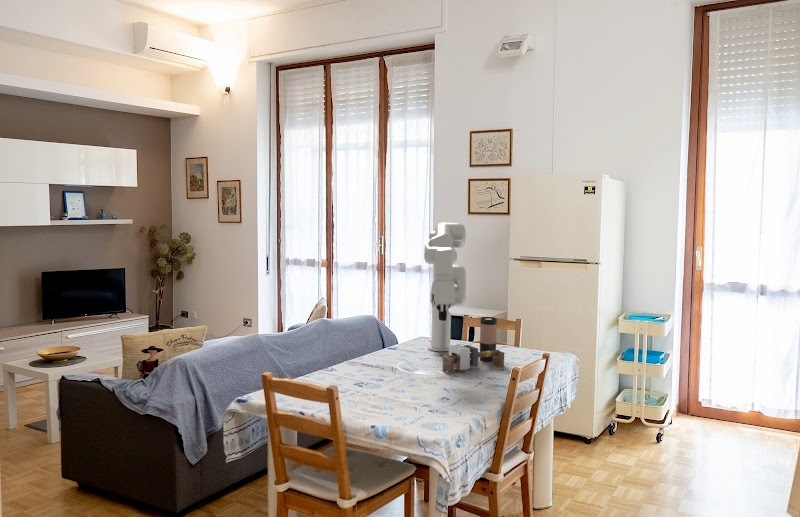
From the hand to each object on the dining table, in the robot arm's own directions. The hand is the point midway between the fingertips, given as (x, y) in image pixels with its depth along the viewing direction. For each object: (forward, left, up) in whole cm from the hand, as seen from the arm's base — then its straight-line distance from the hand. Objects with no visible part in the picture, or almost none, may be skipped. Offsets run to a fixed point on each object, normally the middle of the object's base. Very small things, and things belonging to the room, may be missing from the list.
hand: (442, 320), depth 289 cm
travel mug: (-10, +32, -23) cm, 41 cm away
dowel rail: (0, +17, -23) cm, 29 cm away
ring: (0, +15, -21) cm, 26 cm away
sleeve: (0, +9, -22) cm, 23 cm away
